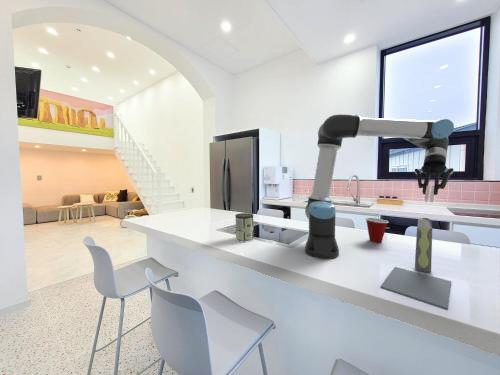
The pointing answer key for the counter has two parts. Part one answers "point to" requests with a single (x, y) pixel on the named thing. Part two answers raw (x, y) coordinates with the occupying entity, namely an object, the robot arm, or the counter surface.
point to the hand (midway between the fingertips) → (428, 199)
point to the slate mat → (419, 286)
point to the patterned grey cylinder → (423, 245)
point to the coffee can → (244, 227)
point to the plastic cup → (376, 229)
